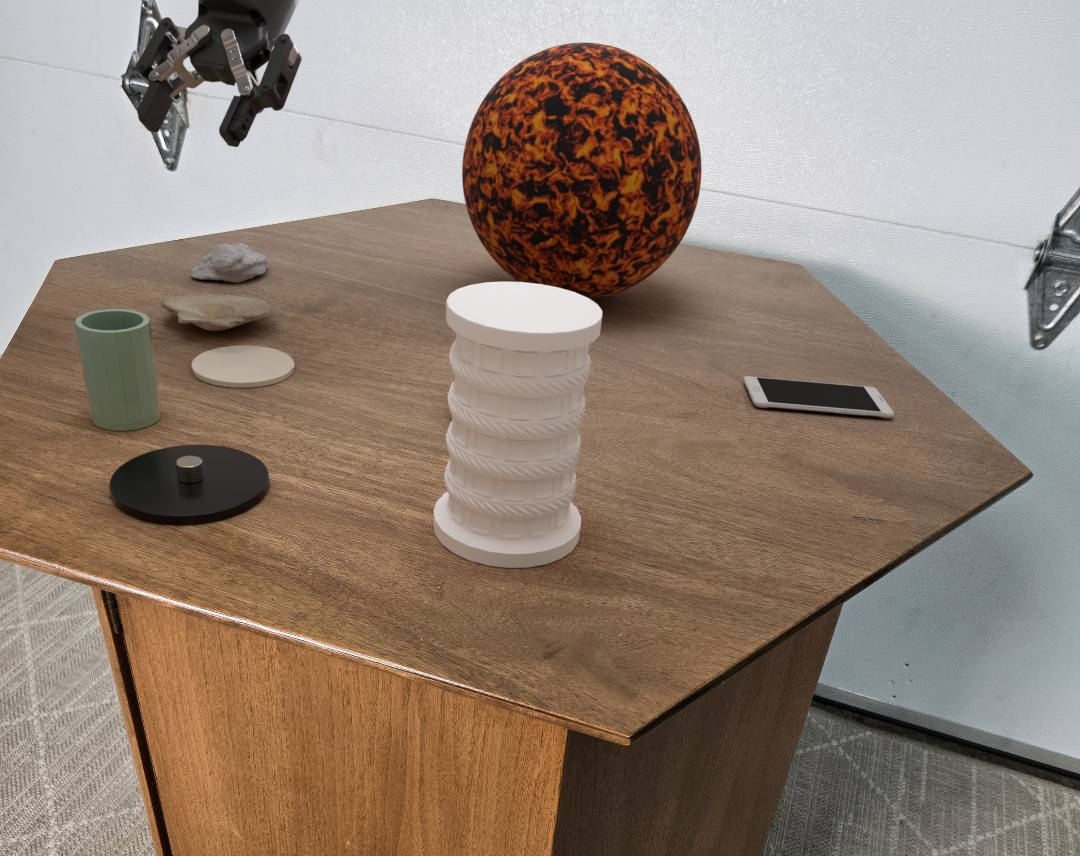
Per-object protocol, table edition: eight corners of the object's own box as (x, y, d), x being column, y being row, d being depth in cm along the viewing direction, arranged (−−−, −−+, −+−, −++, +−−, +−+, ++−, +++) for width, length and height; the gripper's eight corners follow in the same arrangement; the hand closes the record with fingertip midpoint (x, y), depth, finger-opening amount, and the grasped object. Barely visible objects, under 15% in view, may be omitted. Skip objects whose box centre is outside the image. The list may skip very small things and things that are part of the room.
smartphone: (742, 375, 108) (876, 386, 109) (741, 380, 109) (874, 391, 109) (754, 402, 102) (896, 414, 102) (753, 408, 102) (894, 420, 103)
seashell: (239, 301, 117) (237, 277, 115) (294, 330, 110) (293, 305, 108) (145, 318, 109) (142, 293, 108) (199, 350, 102) (196, 324, 101)
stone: (264, 242, 130) (274, 244, 121) (266, 278, 131) (276, 283, 123) (185, 241, 126) (190, 243, 118) (188, 278, 128) (193, 283, 119)
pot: (76, 417, 87) (60, 319, 82) (131, 398, 91) (118, 304, 87) (120, 437, 85) (105, 337, 80) (174, 416, 89) (163, 320, 84)
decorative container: (429, 564, 72) (438, 328, 62) (435, 488, 82) (443, 274, 72) (586, 571, 73) (617, 340, 63) (573, 496, 83) (599, 286, 73)
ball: (528, 344, 113) (552, 55, 97) (419, 269, 134) (425, 22, 118) (726, 320, 127) (775, 64, 111) (600, 256, 148) (626, 33, 132)
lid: (77, 490, 76) (72, 464, 75) (198, 439, 85) (195, 415, 84) (184, 542, 71) (181, 515, 70) (300, 483, 80) (299, 458, 79)
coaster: (170, 368, 98) (169, 363, 98) (245, 343, 105) (244, 338, 105) (242, 396, 94) (241, 390, 93) (315, 368, 101) (314, 362, 101)
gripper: (169, -60, 87) (94, 92, 84) (307, -44, 83) (233, 115, 80) (213, 7, 94) (145, 149, 91) (341, 24, 90) (275, 173, 87)
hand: (186, 133), depth 86 cm, fingers open, 8 cm apart
